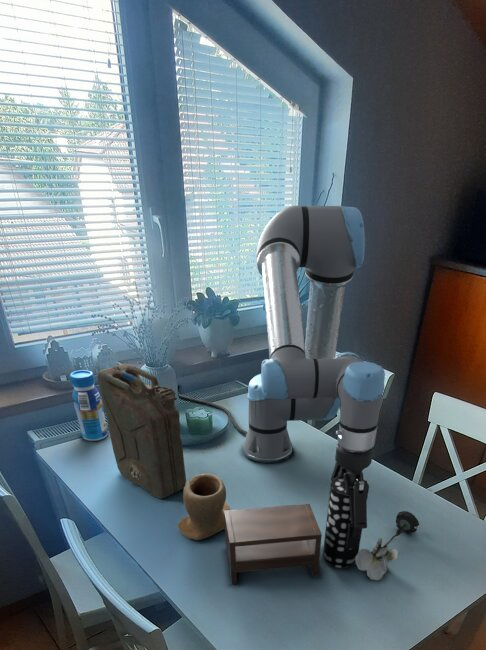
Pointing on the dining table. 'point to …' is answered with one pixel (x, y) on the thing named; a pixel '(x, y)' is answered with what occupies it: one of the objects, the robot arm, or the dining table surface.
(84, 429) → the beverage bottle
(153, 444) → the container
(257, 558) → the rack
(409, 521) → the artificial flower
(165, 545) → the dining table surface
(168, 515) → the dining table surface
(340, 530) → the spotted tube
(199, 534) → the stone cup
